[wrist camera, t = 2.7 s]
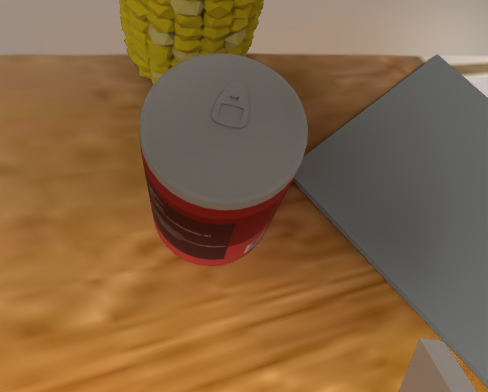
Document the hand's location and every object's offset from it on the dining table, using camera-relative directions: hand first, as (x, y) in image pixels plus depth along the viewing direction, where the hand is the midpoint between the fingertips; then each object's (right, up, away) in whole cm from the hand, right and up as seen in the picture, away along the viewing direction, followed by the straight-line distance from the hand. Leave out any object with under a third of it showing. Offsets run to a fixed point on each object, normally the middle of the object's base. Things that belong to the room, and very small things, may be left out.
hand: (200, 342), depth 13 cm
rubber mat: (+18, +4, +19) cm, 26 cm away
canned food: (-1, +3, +16) cm, 17 cm away
